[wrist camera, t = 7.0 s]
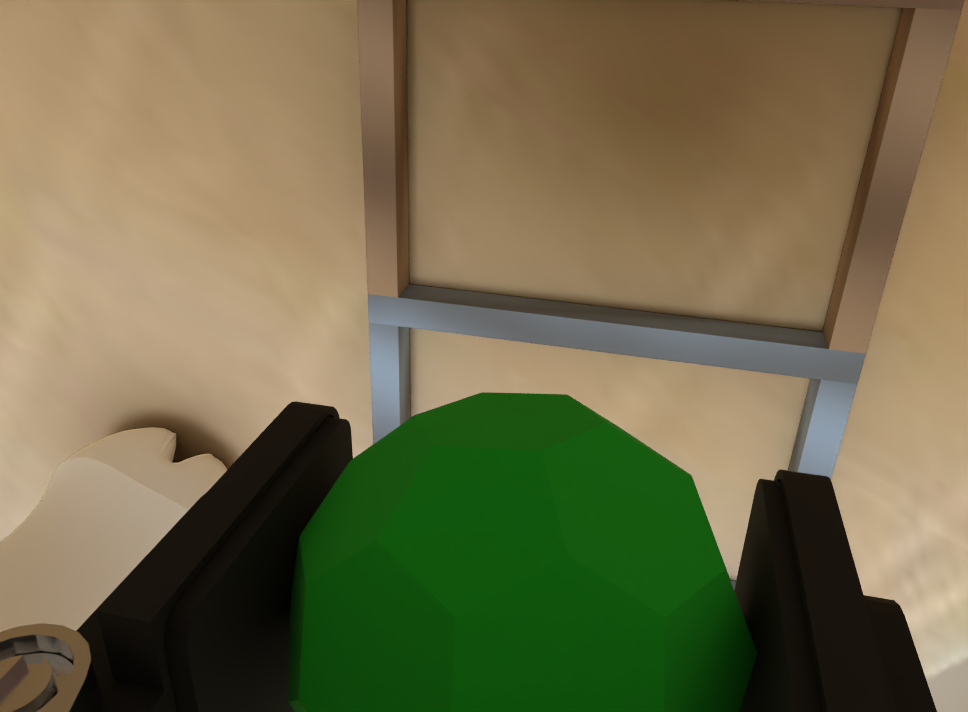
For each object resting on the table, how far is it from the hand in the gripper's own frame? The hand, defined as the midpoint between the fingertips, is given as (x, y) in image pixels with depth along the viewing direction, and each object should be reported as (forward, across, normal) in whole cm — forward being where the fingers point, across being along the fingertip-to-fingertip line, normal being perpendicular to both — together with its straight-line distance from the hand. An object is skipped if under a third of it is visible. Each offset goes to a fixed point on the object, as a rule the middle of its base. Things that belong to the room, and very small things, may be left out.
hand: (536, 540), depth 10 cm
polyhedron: (+1, 0, 0) cm, 1 cm away
